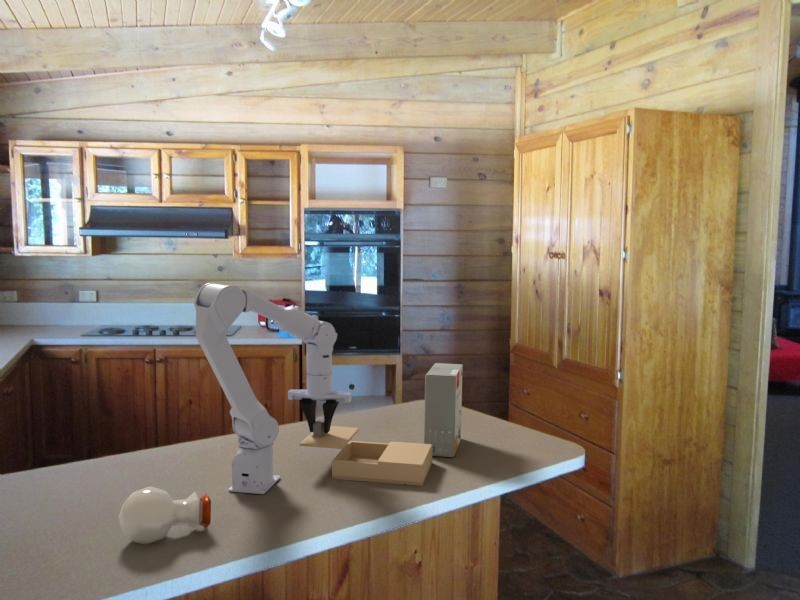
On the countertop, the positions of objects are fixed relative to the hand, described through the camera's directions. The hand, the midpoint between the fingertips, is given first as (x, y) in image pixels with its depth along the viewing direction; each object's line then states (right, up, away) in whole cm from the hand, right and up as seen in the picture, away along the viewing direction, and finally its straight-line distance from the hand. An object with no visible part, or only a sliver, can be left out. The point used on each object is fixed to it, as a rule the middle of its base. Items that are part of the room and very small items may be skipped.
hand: (319, 431), depth 151 cm
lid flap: (+2, -1, 0) cm, 3 cm away
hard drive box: (+29, -7, +14) cm, 33 cm away
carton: (+15, -9, -2) cm, 17 cm away
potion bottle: (-23, -12, -34) cm, 43 cm away
